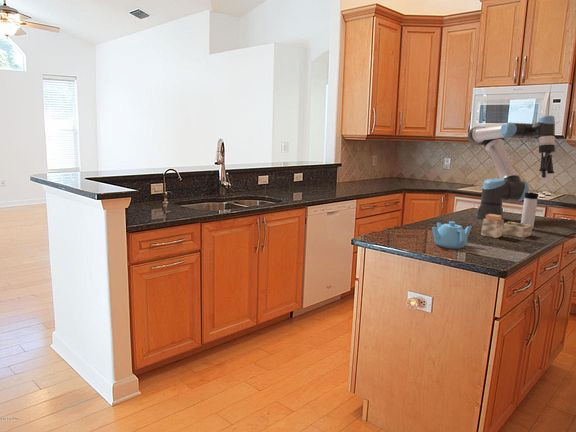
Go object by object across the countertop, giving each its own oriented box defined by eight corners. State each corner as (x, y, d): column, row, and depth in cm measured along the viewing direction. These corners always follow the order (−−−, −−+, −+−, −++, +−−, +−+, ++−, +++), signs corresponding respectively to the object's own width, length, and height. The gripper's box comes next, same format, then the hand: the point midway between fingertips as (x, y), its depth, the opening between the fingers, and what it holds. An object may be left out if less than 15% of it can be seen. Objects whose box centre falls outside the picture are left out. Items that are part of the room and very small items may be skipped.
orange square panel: (485, 220, 228) (485, 215, 228) (489, 219, 232) (490, 213, 232) (496, 222, 224) (497, 216, 224) (501, 221, 228) (501, 215, 228)
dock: (480, 235, 230) (482, 219, 228) (497, 229, 245) (499, 214, 244) (515, 241, 218) (517, 225, 217) (530, 235, 234) (533, 219, 233)
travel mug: (519, 229, 247) (525, 192, 244) (520, 227, 253) (525, 190, 249) (533, 230, 245) (538, 193, 241) (533, 228, 250) (538, 191, 246)
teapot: (428, 246, 204) (430, 222, 202) (435, 239, 217) (437, 216, 215) (464, 251, 197) (467, 227, 195) (469, 244, 210) (472, 221, 208)
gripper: (549, 141, 237) (550, 182, 236) (559, 147, 256) (559, 185, 255) (533, 142, 241) (533, 183, 241) (544, 148, 261) (544, 186, 260)
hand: (547, 184), depth 248 cm, fingers open, 13 cm apart
